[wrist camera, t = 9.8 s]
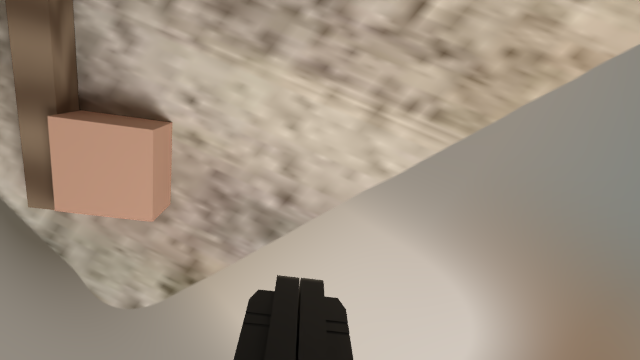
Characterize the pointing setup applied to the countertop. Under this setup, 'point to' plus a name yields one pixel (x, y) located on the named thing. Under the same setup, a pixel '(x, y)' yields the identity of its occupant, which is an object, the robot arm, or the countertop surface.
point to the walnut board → (41, 83)
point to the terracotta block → (110, 164)
